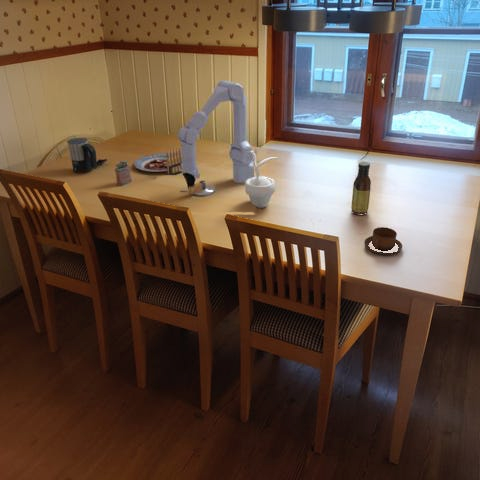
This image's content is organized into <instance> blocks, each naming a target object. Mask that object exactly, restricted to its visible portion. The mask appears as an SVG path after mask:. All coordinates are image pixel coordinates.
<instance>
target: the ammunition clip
mask: <svg viewBox="0 0 480 480" xmlns="http://www.w3.org/2000/svg"><path fill="white" fill-rule="evenodd" d="M166 154H167V171H166V176H177V175H180V174H183V173H184V172H181V171H180V169H182V168H181V163H182V152H181V146H179V148H177V147H176V149H175V148H174V149H173V150H172V149H170V150H167V151H166ZM169 154H170V156H169ZM172 154H173V155H172Z"/></svg>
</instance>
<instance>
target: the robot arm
mask: <svg viewBox="0 0 480 480" xmlns="http://www.w3.org/2000/svg"><path fill="white" fill-rule="evenodd" d="M244 90H245V87H244V86H243V85H241V84H240V83H239V82H232V81H228V80H226V79H222V80H220V81H218V83H217V85H215V87H214V89H213V92H212V94H211V95H210V97H209V99H208V100H207V101H206V102H205V104H204V106H203V107H202V109H201V110H200V111H199V110H198V111H195V112H193V114H192V117H191V118H190V119H189V120H188V122H187V123H186V124H184V125H185V126H183V127H181V128H180V129H179V131H178V132H177V133H178V134H177V133H176V134H177V135H176V137H177V139H178V140H179V142H180V148H181V153H182V163H181V168H182V169H180V171H181V172H183V173H182V176H183V178H184V180H185V182H186V185H187V189H188V190H189V186H191V185H194V184H196V181H197V179H200V178H201V174H200V172H199V169H198V162H197V161H198V160H197V149H196V148H197V145H196V142H197V141H198V139H199V135H200V132H201V131H202V130H203V129H204V128H205V126H206V124H207V123H208V122H209V119H208V117H209V116H210V115H211V114H212V113H213V112H214V110H216V108H217V107H218V106H219V105H220V103H223V102H224V103H225V102H229V101H230V102H231V104H232V107H233V109H232V111H233V141H232V142H231V144H230V150H229V153H228V154H229V155H228V156H229V157H230V159H231V160H232V161H231V162H232V176H233V177H232V178H233V179H232V180H233V182H234V183H237V184H245V181H246V180H247V179H249V178H253V177H256V175H255V167H254V165H253V164H254V162H253V161H252V160H253V158H254V156H253V154H252V153H250V152H249V151H252V146H251V144H250V142H249V141H248V139H247V138H248V122H247V121H248V116H247V115H248V113H247V112H248V111H247V105H248V104H247V103H248V102H247V96H246V95H245V91H244Z"/></svg>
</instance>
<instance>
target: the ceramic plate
mask: <svg viewBox="0 0 480 480" xmlns="http://www.w3.org/2000/svg"><path fill="white" fill-rule="evenodd" d="M172 155H173V153H172ZM169 156H170V153H169ZM134 167H135V168H136V169H138V170H141V171H145V172H151V173H155V172H156V173H165V172H167V153H156V154H150V155H146V156H143V157H140V158H138V159H137V160H136V161H135V162H134Z"/></svg>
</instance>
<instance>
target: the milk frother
mask: <svg viewBox="0 0 480 480" xmlns="http://www.w3.org/2000/svg"><path fill="white" fill-rule="evenodd" d="M66 142H67V145H68V149H69V155H70V160H71V164H72V172H73V173H74V174H86V173H89V172H92V171H93V169H96V168H97V167H99V166H101V165H103V164H105V163H106V162H107V161H108V159H107V158H104V159H103V158H102V159H100V158H99V159H98V158H97V152H96V148H95V146H93V145H92V144H90V143H88V138H87V137H75V138H74V137H73V138H70V139H68V140H66ZM97 159H98V160H97Z"/></svg>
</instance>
